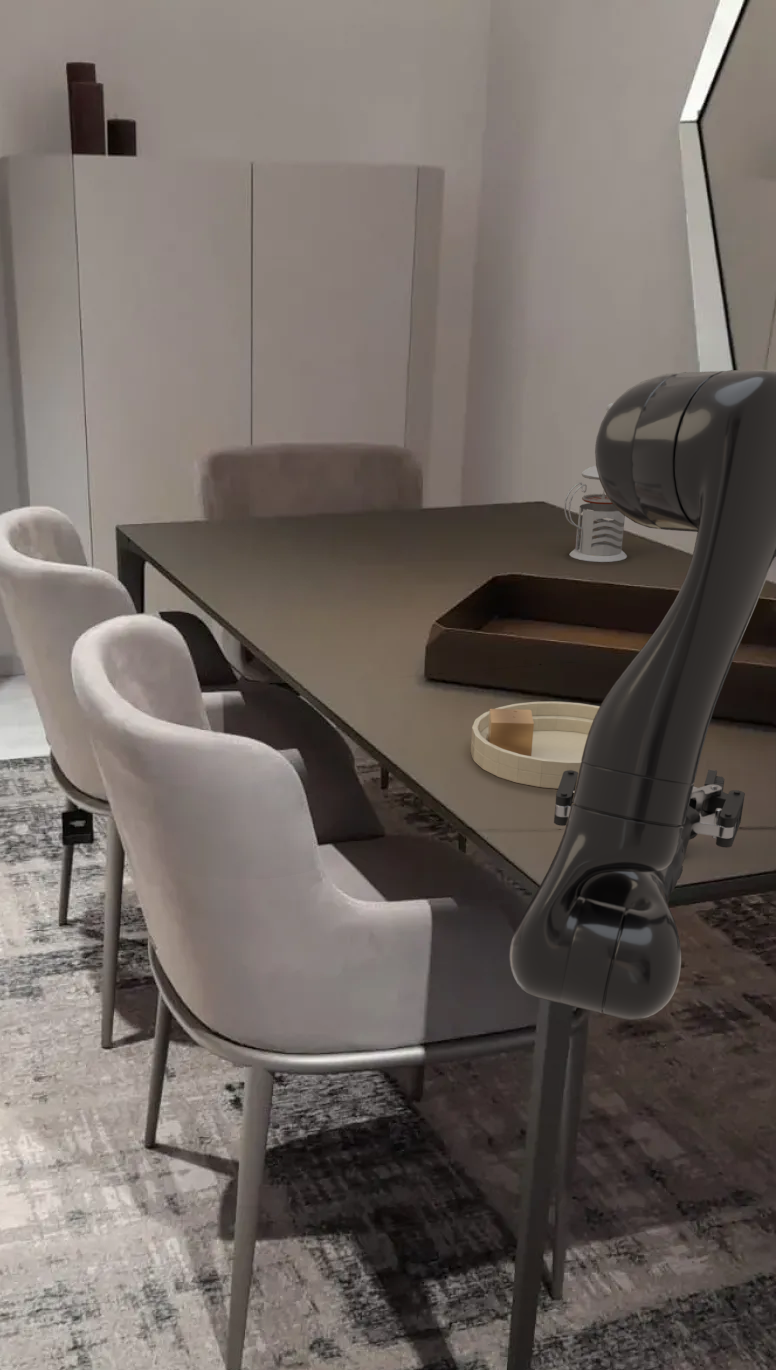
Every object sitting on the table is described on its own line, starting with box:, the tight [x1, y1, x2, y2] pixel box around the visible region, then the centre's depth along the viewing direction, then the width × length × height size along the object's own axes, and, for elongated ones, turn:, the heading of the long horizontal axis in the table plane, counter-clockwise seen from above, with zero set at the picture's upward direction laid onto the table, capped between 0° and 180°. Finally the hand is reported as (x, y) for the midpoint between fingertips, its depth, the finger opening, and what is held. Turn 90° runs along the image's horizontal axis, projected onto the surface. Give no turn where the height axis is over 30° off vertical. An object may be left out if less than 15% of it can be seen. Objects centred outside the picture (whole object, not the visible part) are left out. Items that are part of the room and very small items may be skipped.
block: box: [488, 708, 534, 756], centre depth 149 cm, size 4×4×4 cm
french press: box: [563, 402, 628, 563], centre depth 231 cm, size 10×12×25 cm
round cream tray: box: [470, 701, 600, 790], centre depth 149 cm, size 19×19×4 cm
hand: (658, 774), depth 115 cm, fingers open, 8 cm apart
